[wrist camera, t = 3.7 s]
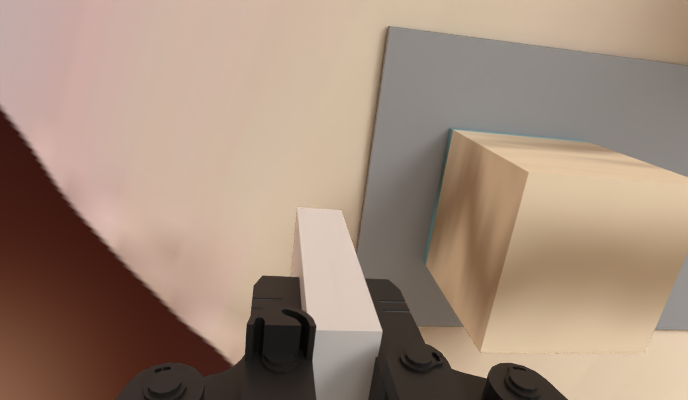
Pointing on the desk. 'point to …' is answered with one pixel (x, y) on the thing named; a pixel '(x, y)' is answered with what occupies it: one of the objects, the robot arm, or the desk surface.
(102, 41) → the desk surface
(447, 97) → the mat
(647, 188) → the block
